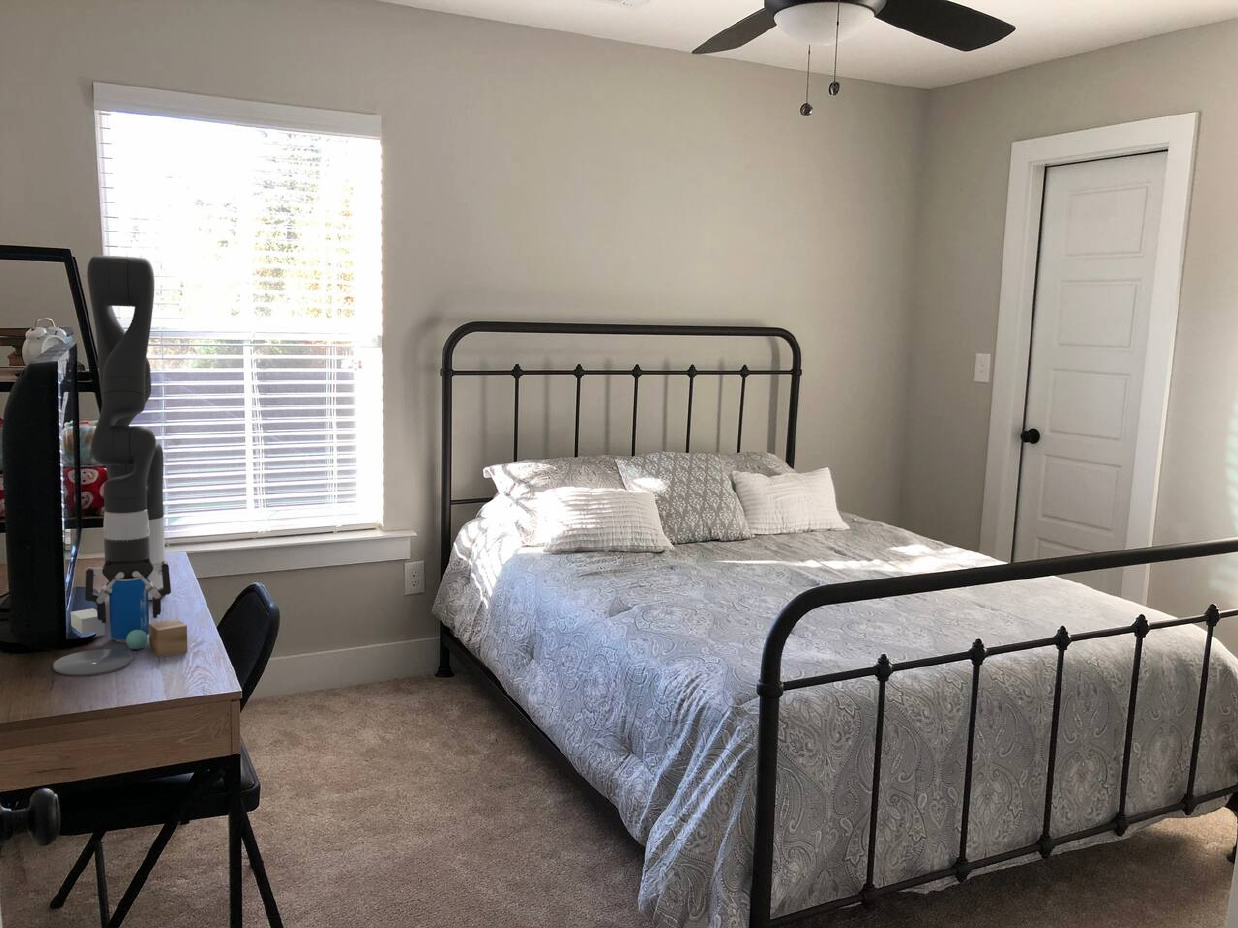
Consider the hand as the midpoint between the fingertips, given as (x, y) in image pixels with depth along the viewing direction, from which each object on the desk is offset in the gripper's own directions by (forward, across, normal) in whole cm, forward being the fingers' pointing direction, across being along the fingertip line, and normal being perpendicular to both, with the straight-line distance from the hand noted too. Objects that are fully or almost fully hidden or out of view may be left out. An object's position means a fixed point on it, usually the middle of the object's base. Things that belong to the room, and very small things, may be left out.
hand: (129, 619), depth 188 cm
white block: (+4, +7, -6) cm, 10 cm away
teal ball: (+2, -1, +7) cm, 7 cm away
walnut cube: (+4, -6, +10) cm, 12 cm away
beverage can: (+4, 0, 0) cm, 4 cm away
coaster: (+4, +6, +13) cm, 15 cm away
